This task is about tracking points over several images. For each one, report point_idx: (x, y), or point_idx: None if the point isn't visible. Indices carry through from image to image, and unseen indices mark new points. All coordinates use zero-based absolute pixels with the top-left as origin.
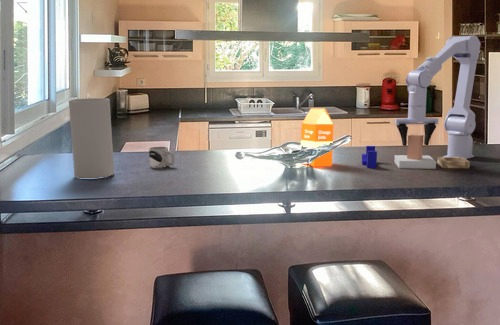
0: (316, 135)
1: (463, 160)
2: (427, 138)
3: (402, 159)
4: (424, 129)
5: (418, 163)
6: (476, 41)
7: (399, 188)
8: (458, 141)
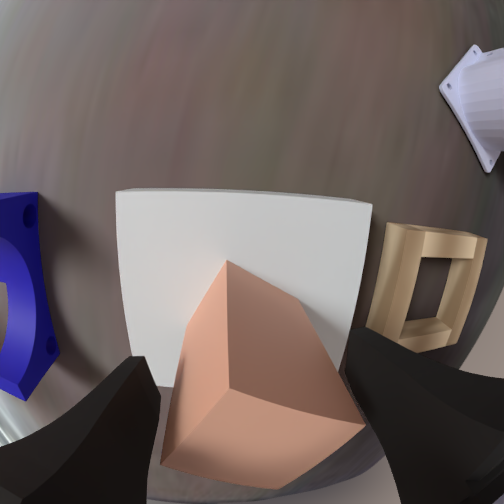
0: None
1: (455, 320)
2: (372, 421)
3: (155, 348)
4: (450, 412)
5: None
6: None
7: (159, 500)
8: None
